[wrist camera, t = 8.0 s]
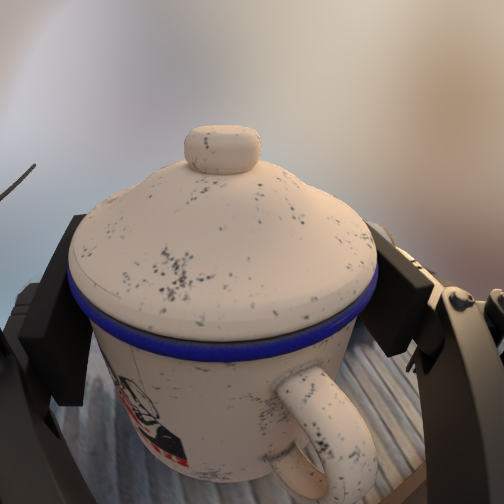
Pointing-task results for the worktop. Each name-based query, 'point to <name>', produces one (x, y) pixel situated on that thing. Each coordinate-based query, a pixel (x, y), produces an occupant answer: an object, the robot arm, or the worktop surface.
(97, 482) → the worktop surface
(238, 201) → the teacup with lid
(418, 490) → the rectangular tray
